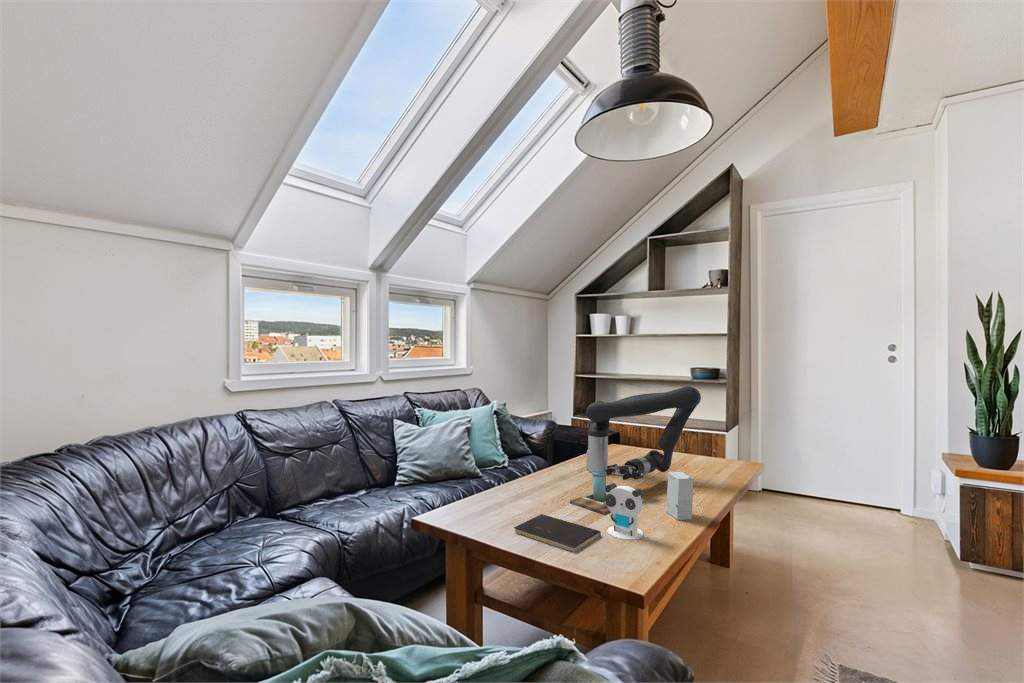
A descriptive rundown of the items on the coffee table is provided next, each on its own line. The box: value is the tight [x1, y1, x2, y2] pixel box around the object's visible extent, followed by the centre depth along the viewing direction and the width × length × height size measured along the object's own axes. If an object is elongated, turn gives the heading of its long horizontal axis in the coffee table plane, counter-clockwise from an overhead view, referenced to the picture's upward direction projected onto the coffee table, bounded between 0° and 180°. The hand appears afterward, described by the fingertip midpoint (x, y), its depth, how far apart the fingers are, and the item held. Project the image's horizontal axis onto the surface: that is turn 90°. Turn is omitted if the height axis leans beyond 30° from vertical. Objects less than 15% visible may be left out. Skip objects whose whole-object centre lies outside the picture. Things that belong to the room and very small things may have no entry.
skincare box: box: [666, 471, 694, 521], centre depth 170 cm, size 8×6×15 cm
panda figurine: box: [605, 482, 644, 541], centre depth 155 cm, size 12×11×15 cm
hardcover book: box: [513, 513, 602, 553], centre depth 154 cm, size 16×23×2 cm
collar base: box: [569, 492, 611, 515], centre depth 182 cm, size 16×16×2 cm
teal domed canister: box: [591, 470, 607, 503], centre depth 182 cm, size 5×5×11 cm
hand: (614, 474), depth 189 cm, fingers open, 8 cm apart
